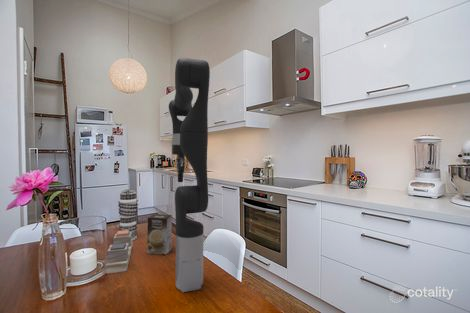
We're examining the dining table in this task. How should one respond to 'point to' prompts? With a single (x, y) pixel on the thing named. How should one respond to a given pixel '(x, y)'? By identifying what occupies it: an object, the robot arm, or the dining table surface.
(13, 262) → the dining table surface
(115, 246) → the charcoal plunger
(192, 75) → the robot arm
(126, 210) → the decorative candle
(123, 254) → the button board
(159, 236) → the coffee box
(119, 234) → the terracotta plunger
